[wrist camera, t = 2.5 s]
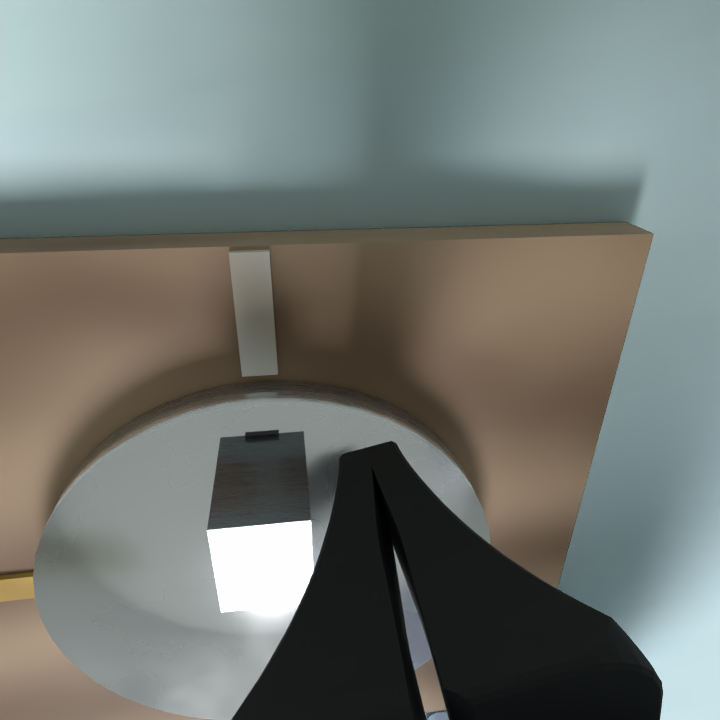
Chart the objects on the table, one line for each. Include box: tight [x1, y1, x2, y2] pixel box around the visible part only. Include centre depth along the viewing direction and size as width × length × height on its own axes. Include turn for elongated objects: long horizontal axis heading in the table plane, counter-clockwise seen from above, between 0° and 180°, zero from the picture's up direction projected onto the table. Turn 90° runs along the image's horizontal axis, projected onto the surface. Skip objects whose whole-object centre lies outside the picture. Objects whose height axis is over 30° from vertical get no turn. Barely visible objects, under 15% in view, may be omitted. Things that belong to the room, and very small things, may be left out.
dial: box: [33, 381, 490, 720], centre depth 15 cm, size 13×13×4 cm
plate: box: [0, 222, 653, 720], centre depth 17 cm, size 20×20×1 cm
